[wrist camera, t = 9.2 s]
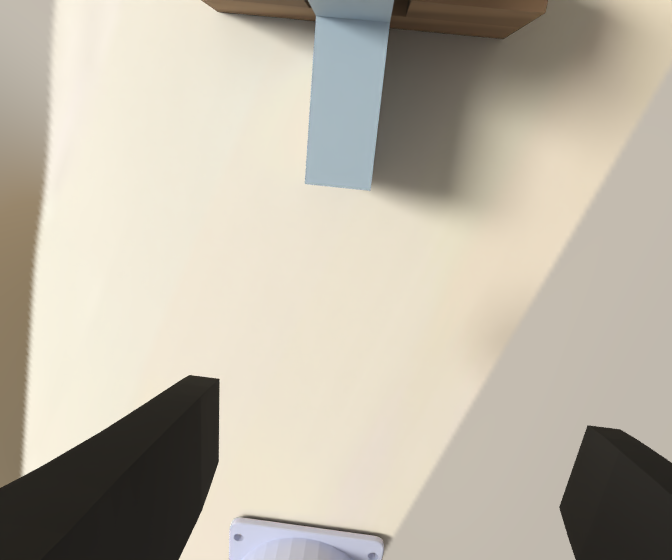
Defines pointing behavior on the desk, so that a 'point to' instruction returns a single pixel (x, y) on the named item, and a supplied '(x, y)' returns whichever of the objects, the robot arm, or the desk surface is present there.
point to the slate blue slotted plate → (346, 91)
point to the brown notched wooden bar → (416, 14)
